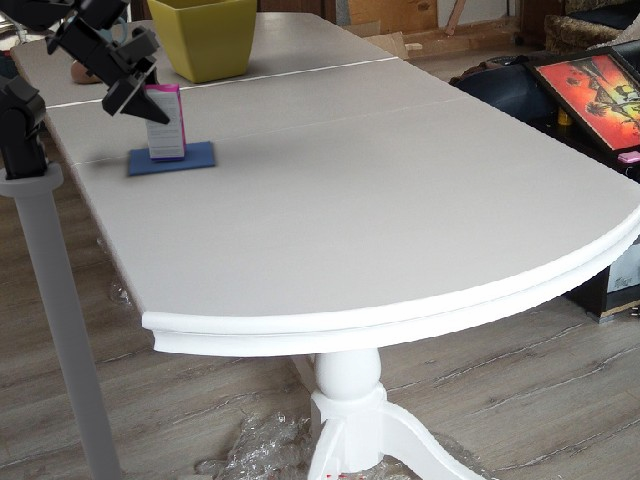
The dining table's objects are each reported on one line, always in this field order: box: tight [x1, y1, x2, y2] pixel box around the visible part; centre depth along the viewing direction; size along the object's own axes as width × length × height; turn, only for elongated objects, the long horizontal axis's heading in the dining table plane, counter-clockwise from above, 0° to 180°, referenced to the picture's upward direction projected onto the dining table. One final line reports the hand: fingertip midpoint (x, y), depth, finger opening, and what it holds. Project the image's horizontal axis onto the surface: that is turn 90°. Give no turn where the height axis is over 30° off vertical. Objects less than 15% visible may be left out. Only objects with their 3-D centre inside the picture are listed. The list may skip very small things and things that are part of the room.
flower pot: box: [146, 0, 258, 84], centre depth 184 cm, size 19×19×17 cm
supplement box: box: [144, 83, 187, 161], centre depth 137 cm, size 6×6×12 cm
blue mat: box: [128, 140, 215, 177], centre depth 141 cm, size 14×12×1 cm
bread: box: [70, 59, 102, 85], centre depth 189 cm, size 11×11×5 cm
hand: (171, 116), depth 137 cm, fingers closed on supplement box, 6 cm apart
